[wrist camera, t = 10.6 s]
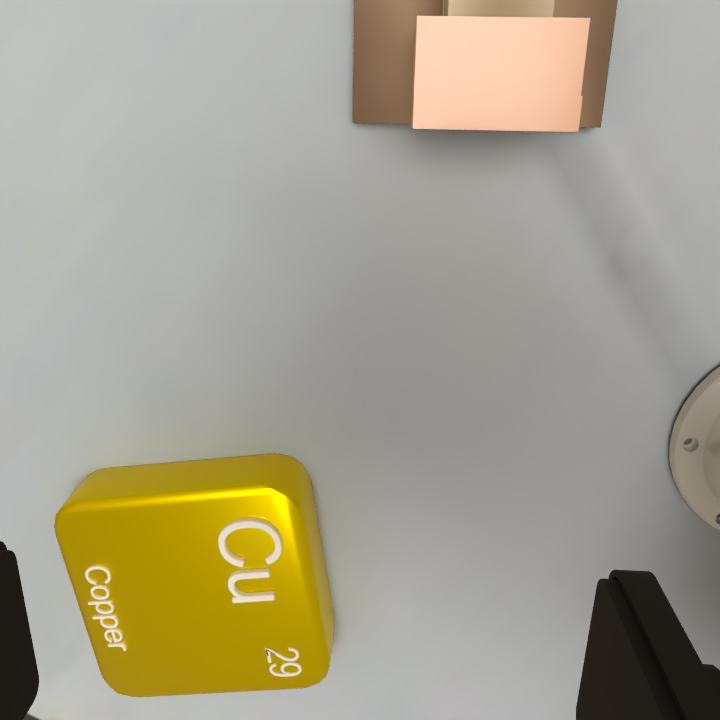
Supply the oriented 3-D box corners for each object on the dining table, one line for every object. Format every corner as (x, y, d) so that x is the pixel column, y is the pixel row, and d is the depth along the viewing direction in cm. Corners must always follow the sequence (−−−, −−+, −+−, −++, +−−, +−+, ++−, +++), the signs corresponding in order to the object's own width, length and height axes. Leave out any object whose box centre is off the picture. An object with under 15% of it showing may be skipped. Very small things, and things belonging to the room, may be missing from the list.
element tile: (75, 467, 44) (38, 509, 39) (306, 447, 42) (296, 487, 38) (131, 652, 49) (104, 708, 44) (339, 639, 47) (333, 695, 43)
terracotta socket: (551, 35, 32) (592, 16, 25) (542, 126, 33) (578, 131, 26) (413, 33, 32) (417, 14, 25) (409, 123, 33) (412, 128, 27)
